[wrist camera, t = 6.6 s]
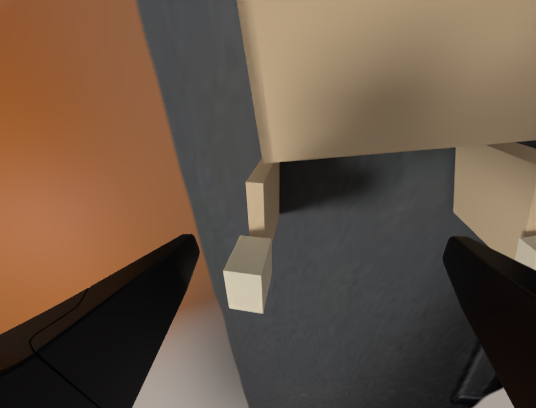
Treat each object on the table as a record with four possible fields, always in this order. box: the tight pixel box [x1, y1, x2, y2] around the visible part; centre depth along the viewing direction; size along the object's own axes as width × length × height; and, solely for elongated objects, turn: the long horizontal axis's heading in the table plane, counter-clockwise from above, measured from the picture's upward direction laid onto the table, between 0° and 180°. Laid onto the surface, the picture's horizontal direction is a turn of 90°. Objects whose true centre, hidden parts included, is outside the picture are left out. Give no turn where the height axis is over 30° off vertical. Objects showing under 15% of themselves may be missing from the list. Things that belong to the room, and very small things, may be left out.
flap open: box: [453, 142, 536, 270], centre depth 12 cm, size 2×6×10 cm, turn 17°
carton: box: [237, 0, 536, 163], centre depth 11 cm, size 9×12×7 cm
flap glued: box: [223, 159, 280, 314], centre depth 15 cm, size 2×6×10 cm, turn 0°
